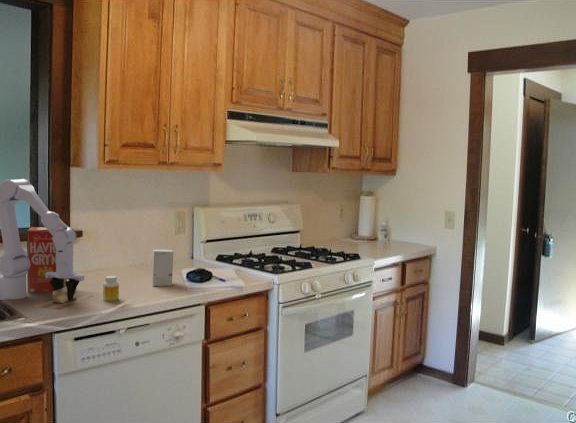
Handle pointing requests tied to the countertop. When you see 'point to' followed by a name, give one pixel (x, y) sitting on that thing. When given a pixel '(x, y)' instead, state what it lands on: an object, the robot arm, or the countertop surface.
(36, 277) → the food packaging
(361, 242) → the countertop surface
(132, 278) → the countertop surface
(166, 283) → the skincare box
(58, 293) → the block
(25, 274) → the robot arm
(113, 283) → the supplement bottle
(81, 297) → the marked board
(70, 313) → the countertop surface
